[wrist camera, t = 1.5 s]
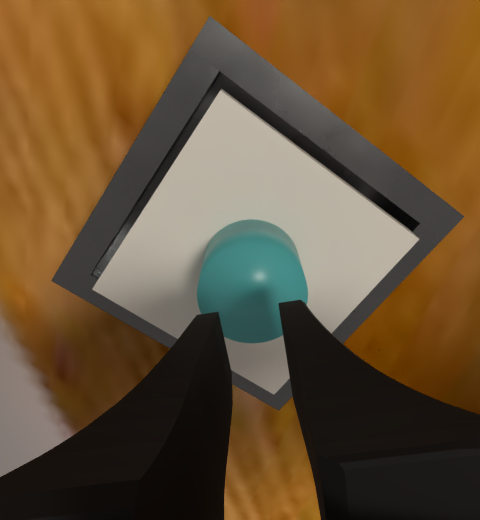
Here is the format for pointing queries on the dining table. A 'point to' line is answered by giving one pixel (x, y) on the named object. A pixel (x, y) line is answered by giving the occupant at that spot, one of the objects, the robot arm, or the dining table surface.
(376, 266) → the plunger
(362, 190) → the press housing
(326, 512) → the robot arm
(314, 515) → the dining table surface
